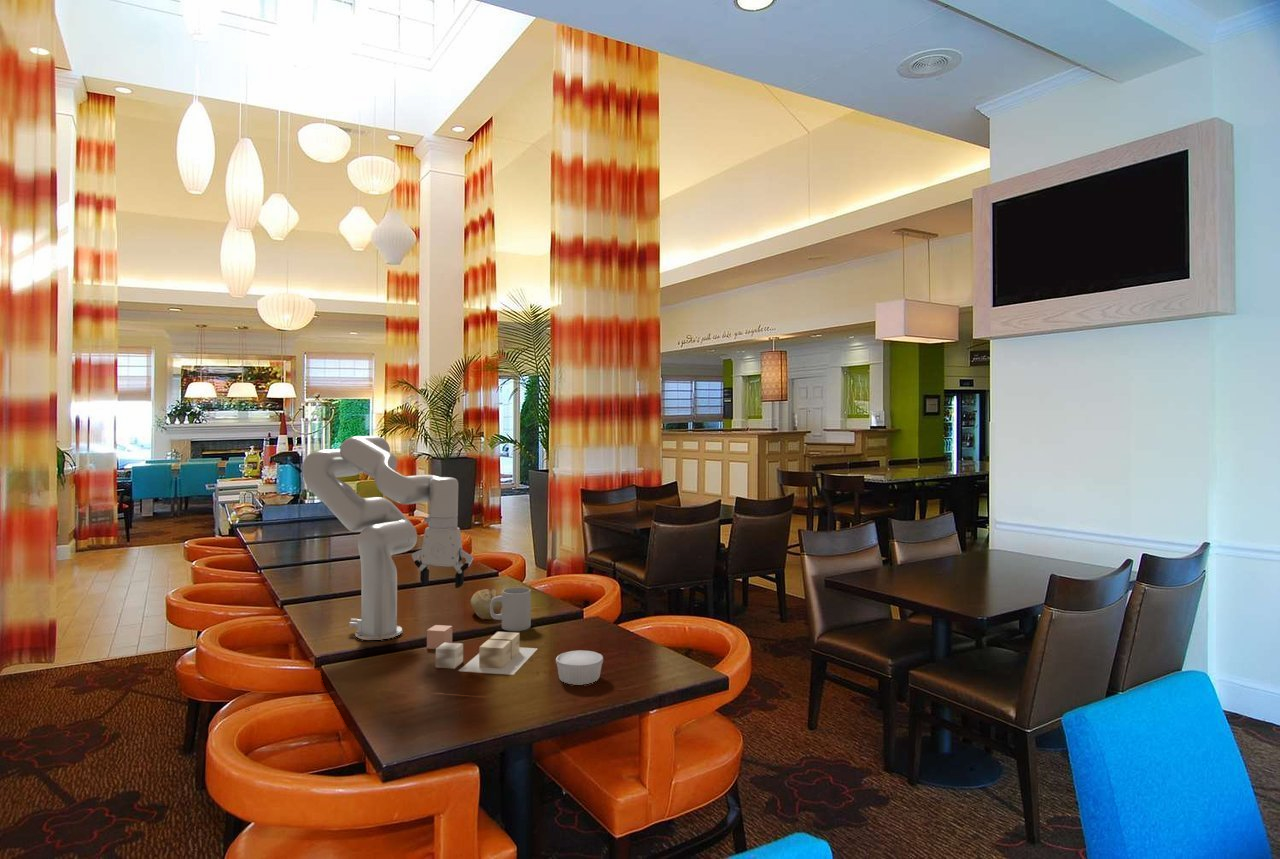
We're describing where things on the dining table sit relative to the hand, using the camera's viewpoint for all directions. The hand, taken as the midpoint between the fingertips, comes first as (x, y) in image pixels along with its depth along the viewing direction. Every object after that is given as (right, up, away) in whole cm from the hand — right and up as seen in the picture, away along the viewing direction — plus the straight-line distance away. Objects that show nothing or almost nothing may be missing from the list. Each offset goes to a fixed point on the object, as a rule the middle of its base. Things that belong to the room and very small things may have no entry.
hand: (441, 585), depth 191 cm
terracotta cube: (-1, -16, 0) cm, 16 cm away
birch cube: (+6, -17, -15) cm, 23 cm away
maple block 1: (+17, -16, -14) cm, 28 cm away
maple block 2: (+19, -16, -8) cm, 26 cm away
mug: (+15, -17, +18) cm, 29 cm away
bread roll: (+5, -16, +31) cm, 36 cm away
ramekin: (+39, -17, -23) cm, 49 cm away
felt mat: (+18, -17, -11) cm, 27 cm away
